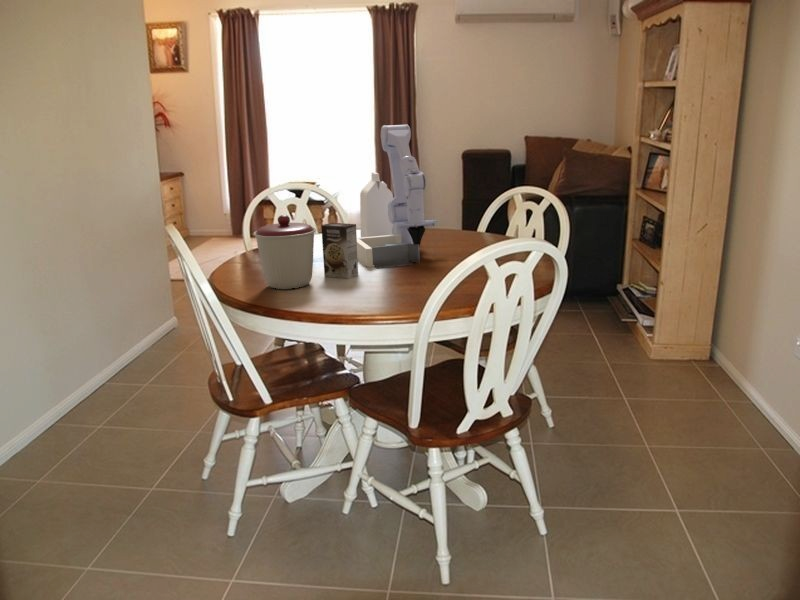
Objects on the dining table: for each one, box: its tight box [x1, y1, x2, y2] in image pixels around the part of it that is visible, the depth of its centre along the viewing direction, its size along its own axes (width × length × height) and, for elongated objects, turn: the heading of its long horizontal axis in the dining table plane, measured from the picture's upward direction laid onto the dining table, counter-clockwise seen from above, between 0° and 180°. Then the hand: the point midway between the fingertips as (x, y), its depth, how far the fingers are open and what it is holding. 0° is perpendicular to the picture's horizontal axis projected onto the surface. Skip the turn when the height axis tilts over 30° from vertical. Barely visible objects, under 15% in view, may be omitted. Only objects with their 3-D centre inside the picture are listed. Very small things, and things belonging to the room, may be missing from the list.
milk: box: [359, 172, 394, 238], centre depth 274 cm, size 12×12×26 cm
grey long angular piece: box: [371, 244, 421, 269], centre depth 233 cm, size 6×16×6 cm, turn 106°
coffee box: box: [320, 222, 359, 280], centre depth 220 cm, size 9×6×16 cm
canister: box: [253, 214, 317, 290], centre depth 209 cm, size 18×18×21 cm
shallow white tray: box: [357, 234, 401, 268], centre depth 244 cm, size 22×18×6 cm
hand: (416, 248), depth 246 cm, fingers closed
